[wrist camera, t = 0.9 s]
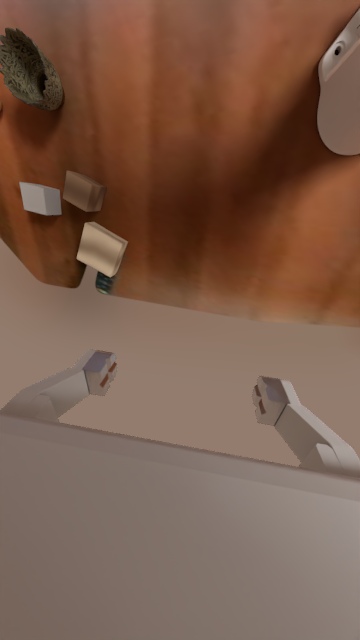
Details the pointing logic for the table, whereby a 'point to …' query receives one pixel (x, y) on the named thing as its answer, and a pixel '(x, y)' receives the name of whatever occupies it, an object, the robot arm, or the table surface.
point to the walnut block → (83, 192)
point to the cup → (29, 72)
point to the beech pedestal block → (101, 249)
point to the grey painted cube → (40, 199)
